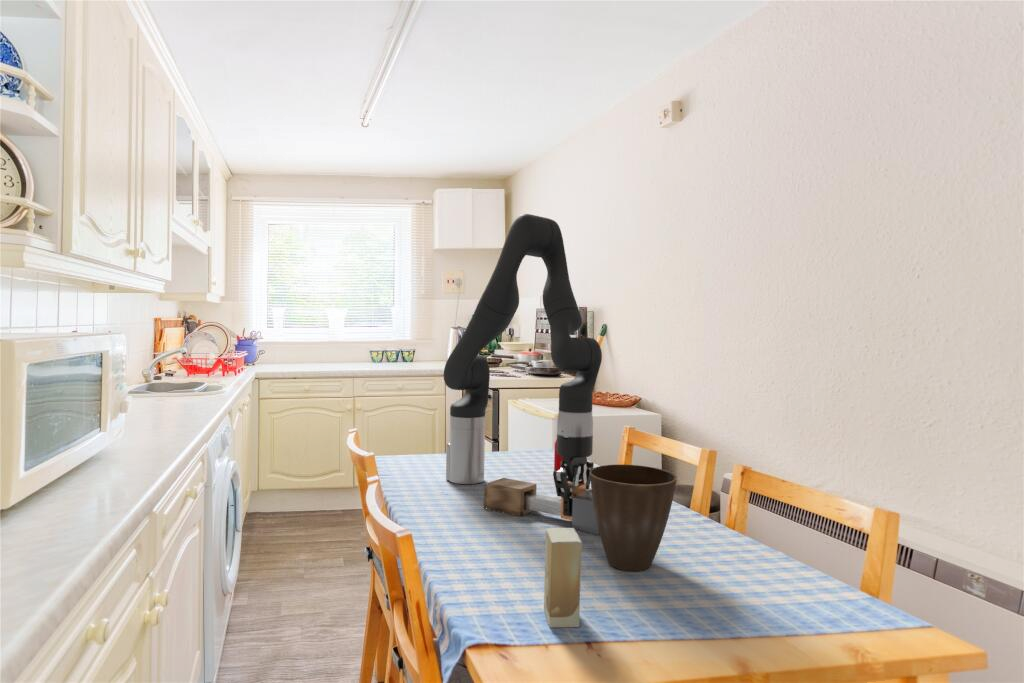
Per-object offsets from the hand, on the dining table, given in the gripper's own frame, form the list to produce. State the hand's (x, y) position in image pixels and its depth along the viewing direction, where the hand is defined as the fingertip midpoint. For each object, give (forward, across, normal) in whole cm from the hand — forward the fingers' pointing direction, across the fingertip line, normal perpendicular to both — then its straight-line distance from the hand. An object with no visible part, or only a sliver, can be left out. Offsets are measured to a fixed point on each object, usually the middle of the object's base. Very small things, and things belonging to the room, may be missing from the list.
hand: (573, 513), depth 140 cm
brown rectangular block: (+2, 0, -16) cm, 16 cm away
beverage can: (+2, -29, -18) cm, 34 cm away
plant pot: (+2, +15, +20) cm, 25 cm away
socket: (+2, 0, +6) cm, 6 cm away
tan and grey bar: (+1, 0, -3) cm, 3 cm away
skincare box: (+2, +41, +21) cm, 46 cm away
